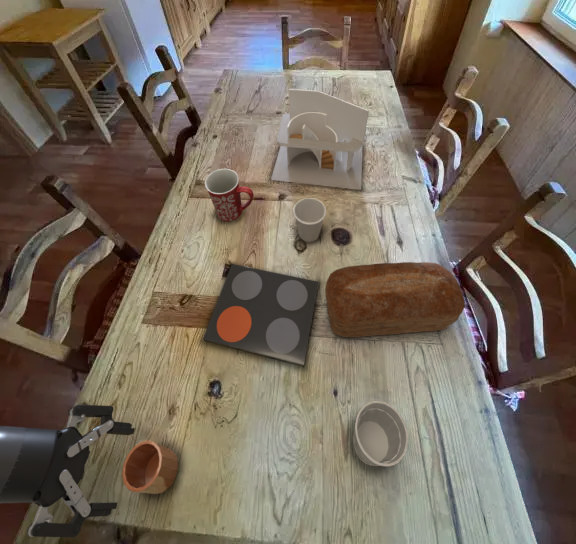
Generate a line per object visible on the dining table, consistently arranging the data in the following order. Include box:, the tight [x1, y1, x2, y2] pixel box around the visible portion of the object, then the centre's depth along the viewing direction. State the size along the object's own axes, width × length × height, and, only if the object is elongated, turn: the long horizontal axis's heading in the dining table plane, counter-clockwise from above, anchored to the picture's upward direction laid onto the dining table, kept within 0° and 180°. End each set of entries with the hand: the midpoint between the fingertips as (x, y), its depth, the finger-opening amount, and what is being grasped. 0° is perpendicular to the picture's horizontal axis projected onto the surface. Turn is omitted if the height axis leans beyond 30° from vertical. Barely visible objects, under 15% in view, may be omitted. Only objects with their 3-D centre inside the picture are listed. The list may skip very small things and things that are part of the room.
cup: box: [352, 400, 409, 467], centre depth 57 cm, size 8×8×12 cm
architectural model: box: [270, 88, 370, 191], centre depth 104 cm, size 28×21×23 cm
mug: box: [204, 168, 254, 223], centre depth 94 cm, size 13×9×14 cm
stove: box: [202, 263, 320, 368], centre depth 77 cm, size 18×22×2 cm
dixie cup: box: [292, 197, 327, 243], centre depth 89 cm, size 8×8×10 cm
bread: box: [324, 261, 466, 338], centre depth 72 cm, size 12×28×14 cm, turn 94°
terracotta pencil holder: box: [121, 440, 179, 495], centre depth 56 cm, size 6×6×10 cm
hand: (124, 466), depth 53 cm, fingers open, 8 cm apart
